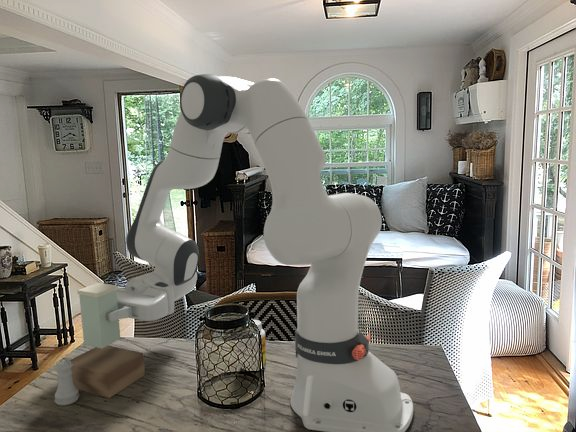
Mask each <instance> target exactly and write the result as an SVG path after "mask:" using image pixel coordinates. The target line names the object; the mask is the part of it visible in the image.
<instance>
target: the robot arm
mask: <svg viewBox="0 0 576 432" xmlns="http://www.w3.org/2000/svg"><path fill="white" fill-rule="evenodd" d="M179 96H180V97H179V107H180V112H179V115H178V116H177V120H176V123H175V125H174V129H173V132H172V137H171V140H170V141H171V142H170V146H169V150H168V153H167V154H166V156H165V159H164V160H161V161H160V162H158V163H156V165H155V166H154V167H153V169H152V171H151V174H150V175H149V177H148V181H147V184H146V186H145V188H144V192H143V195H142V197H141V198H142V199H141V200H140V204H139V206H138V210H137V213H136V216H135V218H134V220H133V221H132V224H131V226H130V227H129V229H128V231H127V235H126V238H125V240H126V241H125V244H126V248H127V251H128V253H129V254H130V255H131V256H133V257H134V258H137V259H139V260H141V261H145V262H147V264H148V263H149V264H151V265H152V266H154V269H153V271H151V272H148V273H144V274H141V275H140V276H137V277H134V278H132V279H130V280H128V282H127V283H126V285H125V287H118V290H117V303H118V310H115V311H114V310H111V311H109V312H107V313H106V320H107V321H111V322H113V321H115V320H118V319H119V320H123V319H128V318H129V319H134V320H139V321H144V322H155V321H158V320H160V319H162V318H164V317H166V316H169V315H173V314H174V313H175V301H177V300H179V299H181V298H182V297H184V296H185V295H187V294H188V293H189V292H191V291H192V289H194V288H195V286H196V284H197V280H198V272H197V270H198V268H199V263H200V252H199V246H198V244H197V242H196V241H195V240H193V239H191V238H190V237H188V236H186V235H184V234H182V233H180V232H177V231H175V230H173V229H171V228H169V227H167V226H165V225H164V223H163V222H162V221H161V215H162V213H163V210H164V207H165V204H166V203H167V199H168V197H169V194H170V193H171V192H172V191H173V190H191V189H197V188H200V187H203V186H205V185H208V183H210V182H211V181H212V180H213V179H214V177H215V175H216V173H217V170H218V167H219V162H220V158H221V153H222V148H223V143H224V140H225V138H226V136H227V135H229V134H237V135H238V134H248V135H250V136H251V139H252V141H253V144H254V146H255V148H256V150H257V153H258V155H259V158H260V160H261V162H262V164H263V167H264V170H265V171H266V174H267V176H268V180H269V183H270V187H271V194H272V196H271V197H272V198H271V199H272V200H271V201H272V202H271V203H272V204H271V209H270V212H269V214H268V215H267V217H266V220H265V222H264V227H263V239H264V243H265V246H266V249H267V250H268V252H269V254H270V256H272V258H273V259H274V260H275V261H276V262H278V263H280V264H283V265H286V266H287V265H288V266H306V265H310V267H309V269H308V271H307V274H306V275H305V277H303V279H302V281H301V282H300V283H299V285H298V288H297V291H296V317H297V318H296V319H297V323H296V325H297V328H296V329H295V334H294V338H295V339H294V340H295V341H294V348H295V349H294V350H295V357H296V370H295V373H296V374H295V379H294V386H293V391H292V392H291V393H292V394H291V397H290V406H291V408H292V410H293V412H294V413H296V414H297V416H299V417H300V419H301V420H302V421H301V422H302V423H303V426H304V427H305V428H306V429H307V430H310V431H311V430H312V431H318V432H319V431H320V432H406V431H407V429H408V428H409V427H410V424H411V423H412V420H413V418H414V403H413V400H412V398H411V397H410V395H409V394H407V393H405V392H402V391H401V387H400V382H399V378H398V376H397V374H396V373H395V371H394V370H393V369H391V368H390V367H389V366H388V365H387V364H385V363H384V362H383V361H381V360H380V359H379V358H377V357H376V356H375V355H374V354H373V353H372V352H370V351H369V349H370V347H369V342H370V341H371V333H368V334H367V335H366V336H365V335H364V334H363V333H362V331H360V329H359V324H358V323H359V294H360V293H359V292H360V286H361V281H362V280H361V279H362V276H363V272H364V268H365V264H366V261H367V258H368V256H369V255H368V254H369V251H370V249H371V247H372V244H373V243H374V241H375V240H376V238H377V237H378V236H379V234H380V231H381V230H382V223H383V220H382V213H381V210H380V208H379V206H378V205H377V204H376V202H375V201H374V200H373V199H372V198H370V197H368V196H366V195H364V194H363V195H362V194H358V193H351V192H342V193H336V194H335V193H334V194H330V195H329V194H328V195H327V194H326V192H325V190H324V187H323V184H322V179H321V172H322V171H323V169H324V168H325V165H326V160H327V157H326V152H325V151H324V148H323V147H322V144H321V142H320V141H319V138H318V136H317V135H316V132H315V130H314V128H313V126H312V124H311V122H310V120H309V118H308V116H307V115H306V112H305V111H304V109H303V107H302V106H301V104H300V102H299V101H298V99H297V98H296V96H295V95H294V94H293V92H292V91H291V89H290V88H289V87H288V86H287V85H286V84H285V83H284V82H283V81H281V80H279V79H277V78H263V79H260V80H258V81H256V82H253V81H249V80H246V79H242V78H240V77H239V78H238V77H235V76H227V75H214V74H211V73H203V74H202V73H201V74H197V75H196V74H195V75H193V76H191V77H190V78H188V79H187V80H186V81H185V83H184V84H183V86H182V89H181V92H180V95H179Z"/></svg>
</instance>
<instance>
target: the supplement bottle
mask: <svg viewBox="0 0 576 432" xmlns="http://www.w3.org/2000/svg"><path fill="white" fill-rule="evenodd" d="M252 320H253V321H254V322H255V324H256V325H257V327H258V329H259V331H260V335H261V344H262V352H263V365H264V369H265V368H266V366H267V351H266V350H267V347H266V342H267V341H266V332H265V330H264V329H263V327H262V322H261V321H260V320H259V319H252Z"/></svg>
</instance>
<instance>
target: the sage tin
mask: <svg viewBox="0 0 576 432" xmlns="http://www.w3.org/2000/svg"><path fill="white" fill-rule="evenodd" d="M118 288H119V286H118V285H116V284H108V283H102V282H97V283H96V282H95V283H93V284H91V285H88V286H86V287H83V288H80V289H78V290H77V295H79V296H78V297H79V305H80V315H81V317H80V318H81V326H82V327H81V328H82V337H83V338H82V339H83V345H84V346H85V345H86V346H90V347H93V348H95V347H98V348H104V347H106V346H108V345H109V346H111V344H113V343H115V342H118V341H119V340H121V331H120V330H121V329H120V328H121V327H120V319H118V320H115V321H113V322H111V321H107V320H106V313H107V312H109V311H111V310H114V311H115V310H118V303H117V290H118Z"/></svg>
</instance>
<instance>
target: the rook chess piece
mask: <svg viewBox="0 0 576 432" xmlns="http://www.w3.org/2000/svg"><path fill="white" fill-rule="evenodd" d="M70 360H71V359H70V358H64V360H63V359H59V361H56V362H55V366H54V370H55V371H56V372H57V374H56V377H57V380H58V382H57V388H56V392H55V393H54V403H56V404H57V405H58V406H61V407H62V406H69V405H72V404H74V403H75V402H77V400H78V399H79V398H80V393H79V391H80V390H79V389H78V388H77V387H76V385H74V383H73V379H72V373H73V371H71V368H72V366H73V363H71V361H70Z"/></svg>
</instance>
